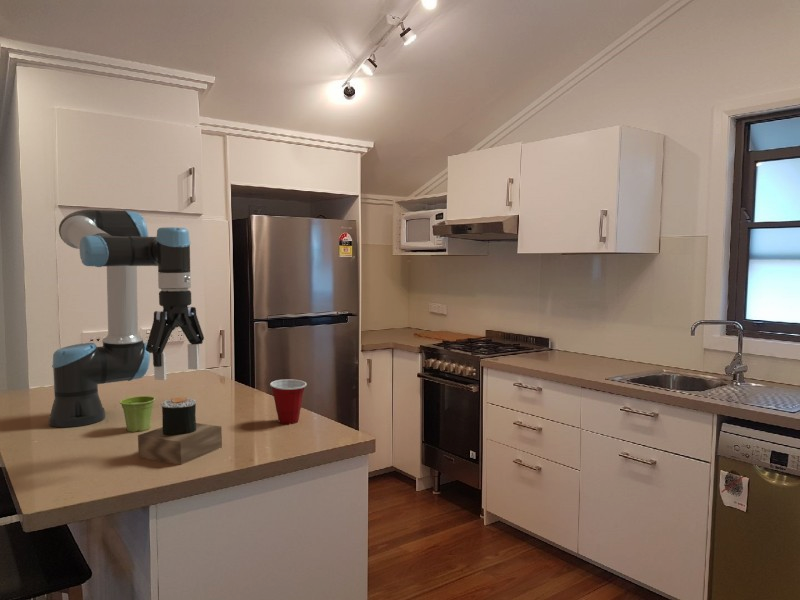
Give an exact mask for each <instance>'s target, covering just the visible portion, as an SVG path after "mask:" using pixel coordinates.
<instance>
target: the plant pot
mask: <svg viewBox="0 0 800 600" xmlns="http://www.w3.org/2000/svg"><path fill="white" fill-rule="evenodd" d="M155 401H156V397H154V396H151V395H139V396H131V397H126V398H124V399H121V400H120V401H119V404H121V408H122V410H123V415H124V419H125V425H126V430H127V432H130V433H131V432H133V433H135V432H138V431H140V432H144V431H147V430H149V429H150V428H151V423H152V422H151V421H152V414H153V406H154V402H155Z"/></svg>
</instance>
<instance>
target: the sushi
mask: <svg viewBox="0 0 800 600" xmlns="http://www.w3.org/2000/svg"><path fill="white" fill-rule="evenodd" d="M196 403H197V401H196V400H195V399H194V398H188V397H177V398H171V399H169V400H163V401H162V402H160V406H161V410H162V411H161V413H162V417H161V418H162V421H161V422H162V423H161V425H162V427H163V434H167V435H177V434H188V433H192V432H194V431H196V423H197V418H196V407H197V406H196V405H197V404H196Z"/></svg>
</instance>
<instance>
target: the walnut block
mask: <svg viewBox="0 0 800 600" xmlns="http://www.w3.org/2000/svg"><path fill="white" fill-rule="evenodd" d="M222 430H223V429H222V425H214V424H213V425H212V424H205V423H198V422H196V431H194V432H192V433H188V434H177V435H167V434H163V426H162V427H158V428H156V429H153V430H149V431H146V432H144V433H141V434H138V435H137V443H138V444H137V447H138V458H140V457H141V459H145V458H146V459H147V460H153V461H158V462H162V463H163V462H164V463H169V464H175V465H181V466H182V465H184V464H186V463H189V462H191V461H194V460H196V459H198V458H202V456H206V455H208V454H210V453H213V452H214V451H217V450H219V448H220V449H222V448H223V439H222V438H223V437H222V435H223V432H222Z"/></svg>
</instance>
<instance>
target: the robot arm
mask: <svg viewBox="0 0 800 600" xmlns="http://www.w3.org/2000/svg"><path fill="white" fill-rule="evenodd" d="M144 218H145V217H143V215H142V214H140V213H139V212H137V211H129V210H112V209H111V210H107V209H92V208H91V209H82V210H76V211H74V212H71V213H69V214H68V215H66V216H64V218H62V220H60V223H59V226H58V235H59V237H60V239H61V240H62V242H64V244H66V245H67V246H69V247H70V248H73V249H76V250H77V249H78V250H79V257H80V259H81V263H82V264H83V266H86V267H96V268H102V267H106V292H107V293H106V296H107V301H106V302H107V336H106V337H104V338H103V340H102V346H97V344H96V343H95V342H86V343H78V344H72V345H67V346H64V347H61V348H59V349H57V350H56V351H54V353H53V354H52V356H53V357H52V369H53V370H52V371H53V388H54V389H53V390H54V393H53V394H54V400H53V404H52V407H51V410H50V411H51V413H50V414H49V415H48V423H49V426H51V427H54V428H55V427H56V428H70V427H71V428H72V427H80V426H86V425H91V424H95V423H98V422H101V421H103V420H104V419H105V418H106V410H105V408H104V407H103V403H102V401H101V399H100V396H99V388H98V387H99V385H102V384H111V383H117V382H118V383H119V382H126V381H128V382H130V381H134V380H139V379H141V378H143V377H144V376H146V374H147V372H148V370H149V365H150V362H151V361H150V359H151V354H152V361H153V362H152V364H153V371H154V373H153V375H154V380H155V381H166V380H167V364H166V363H167V362H166V361H167V359H166V352H164V350H165V349H166V346H167V343H168V340H169V339H170V337H171V334H172V332H173V331H175V329H177V328H180V329H181V331H182V333H183V334H184V336H185V338H186V339H187V340H188V342H189V343H188V344H187V368H188V370H199V369H200V361H199V360H200V359H199V355H200V352H199V351H200V349H199V347H200V345H202V344H203V342H204V340H205V336H204V334H203V330H202V328H201V325H200V321H199V319H198V315H197V309H196V307H195V306H190V305H192V291H191V290H189V289H190V288H191V287H192V285H191V279H192V278H191V247H190V246H191V240H190V232H189V230H188V229H187V228H185V227H173V226H172V227H170V226H168V227H167V226H165V227H159V228H157V230H156V236H149V231H148V226H147V224H146V220H145V219H144ZM138 267H157V271H158V272H157V276H158V277H157V279H158V280H157V281H158V284H157V285H158V286H157V287H158V289H159V290H160V291H159V292H158V303H159V304H158V305H159V306H161V307H162V311H161V310H159V311H158V310H156V311H153V321H152V324H151V325H152V326H151V329H150V333H149V335H148V339H147V343H146V342H144V338H143V337H142V336H141V335H140V334H139V332H138V331H139V327H138V320H139V319H138V318H139V317H138Z"/></svg>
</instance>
